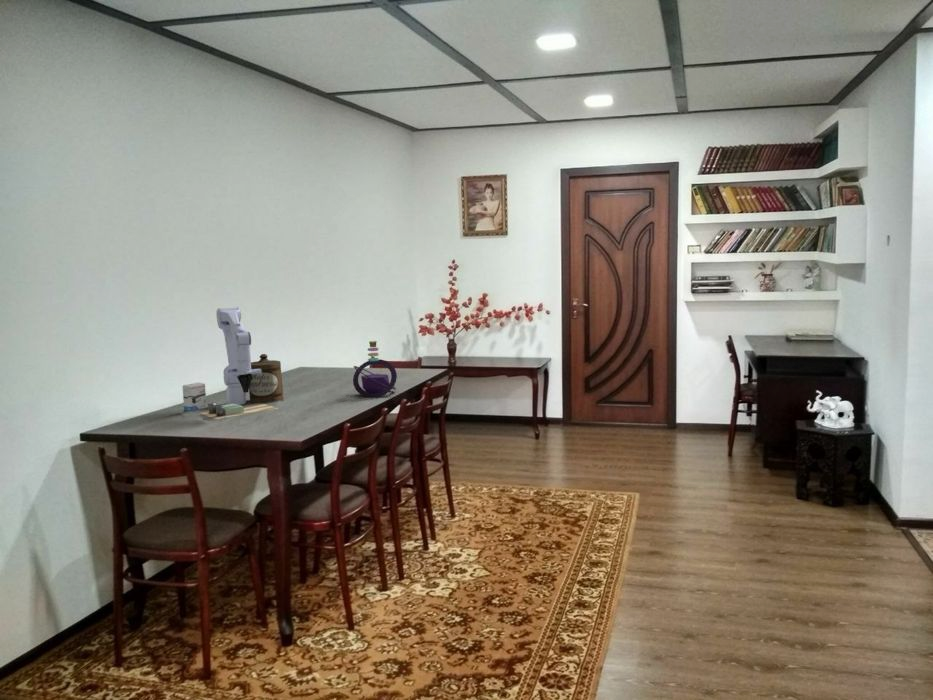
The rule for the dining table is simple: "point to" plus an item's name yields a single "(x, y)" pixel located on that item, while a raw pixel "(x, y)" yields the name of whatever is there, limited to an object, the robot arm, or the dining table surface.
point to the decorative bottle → (374, 377)
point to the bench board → (247, 410)
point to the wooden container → (266, 381)
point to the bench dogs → (216, 409)
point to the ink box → (194, 396)
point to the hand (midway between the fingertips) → (245, 392)
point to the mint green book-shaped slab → (233, 409)
